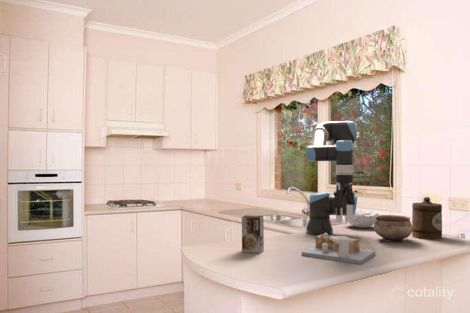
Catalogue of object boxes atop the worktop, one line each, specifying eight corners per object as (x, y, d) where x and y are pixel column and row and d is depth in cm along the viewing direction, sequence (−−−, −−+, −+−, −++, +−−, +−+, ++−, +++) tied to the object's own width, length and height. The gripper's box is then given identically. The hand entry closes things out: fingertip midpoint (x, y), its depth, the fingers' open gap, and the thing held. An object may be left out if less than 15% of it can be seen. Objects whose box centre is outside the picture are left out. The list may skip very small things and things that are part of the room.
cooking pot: (399, 246, 188) (399, 221, 188) (363, 240, 202) (363, 217, 203) (421, 239, 205) (421, 216, 205) (387, 234, 219) (386, 213, 219)
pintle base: (300, 255, 170) (300, 235, 170) (319, 247, 187) (319, 228, 187) (360, 264, 155) (359, 242, 155) (374, 254, 172) (374, 234, 173)
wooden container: (442, 240, 203) (441, 198, 204) (411, 238, 210) (410, 197, 211) (442, 235, 216) (441, 196, 217) (413, 233, 223) (412, 195, 224)
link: (315, 247, 180) (315, 236, 180) (321, 244, 186) (321, 234, 186) (355, 252, 169) (355, 241, 169) (360, 249, 175) (360, 238, 175)
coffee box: (264, 250, 181) (264, 215, 181) (260, 253, 175) (260, 217, 175) (245, 248, 184) (245, 214, 184) (241, 251, 178) (241, 216, 178)
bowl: (362, 224, 258) (362, 208, 258) (386, 228, 239) (386, 212, 239) (337, 226, 249) (337, 210, 249) (359, 231, 230) (359, 214, 231)
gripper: (342, 175, 166) (342, 225, 166) (361, 173, 186) (361, 217, 186) (326, 174, 170) (326, 223, 170) (346, 173, 191) (346, 216, 190)
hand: (344, 220), depth 178 cm, fingers open, 13 cm apart
